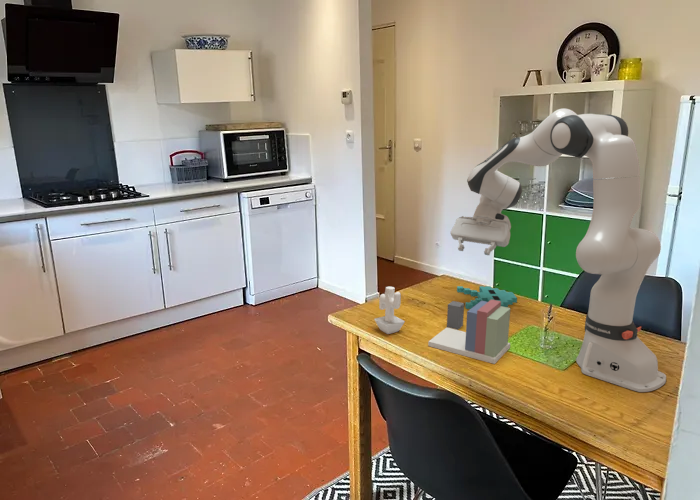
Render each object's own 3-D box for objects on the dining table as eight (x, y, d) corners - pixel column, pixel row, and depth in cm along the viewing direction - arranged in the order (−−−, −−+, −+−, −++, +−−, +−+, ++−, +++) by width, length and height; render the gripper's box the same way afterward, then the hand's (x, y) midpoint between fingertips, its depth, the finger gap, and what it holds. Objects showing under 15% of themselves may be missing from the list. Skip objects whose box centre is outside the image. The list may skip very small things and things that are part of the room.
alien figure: (466, 310, 193) (521, 310, 192) (466, 304, 192) (522, 304, 192) (456, 291, 212) (507, 291, 211) (457, 286, 211) (507, 286, 211)
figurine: (389, 323, 180) (390, 281, 176) (406, 333, 172) (408, 289, 168) (372, 328, 176) (372, 285, 172) (388, 338, 168) (389, 293, 164)
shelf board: (510, 347, 161) (513, 302, 157) (494, 364, 151) (498, 316, 147) (446, 331, 173) (448, 289, 169) (428, 345, 163) (429, 301, 159)
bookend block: (462, 325, 178) (464, 303, 176) (457, 329, 174) (459, 306, 172) (451, 323, 180) (452, 300, 178) (446, 327, 177) (447, 304, 175)
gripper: (455, 210, 190) (442, 242, 184) (512, 217, 178) (500, 251, 173) (460, 220, 194) (447, 252, 189) (515, 227, 183) (503, 261, 178)
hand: (473, 252), depth 181 cm, fingers open, 8 cm apart
